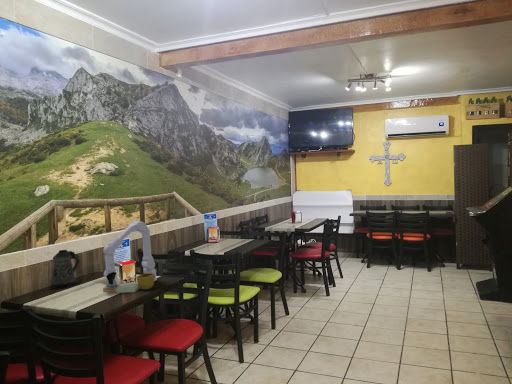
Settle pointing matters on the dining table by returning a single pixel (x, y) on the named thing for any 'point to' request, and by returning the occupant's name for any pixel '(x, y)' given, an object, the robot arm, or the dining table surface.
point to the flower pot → (145, 280)
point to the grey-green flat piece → (128, 287)
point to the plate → (112, 284)
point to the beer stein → (64, 269)
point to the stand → (110, 289)
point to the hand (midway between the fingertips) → (111, 284)
